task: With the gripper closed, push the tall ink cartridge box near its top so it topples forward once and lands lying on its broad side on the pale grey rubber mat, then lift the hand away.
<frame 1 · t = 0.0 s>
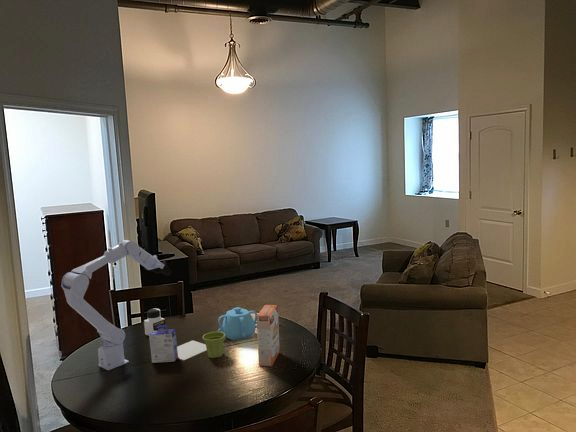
hand: (165, 273, 214), 32 cm above the table, tool tilted 50°, fingers open, 7 cm apart
light blue teapot: (239, 336, 221), on the table
ink cartridge box: (165, 360, 198), on the table, touching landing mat
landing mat: (188, 350, 207), on the table
cracker box: (270, 359, 194), on the table
medicine bottle: (155, 334, 229), on the table
plant pot: (215, 355, 200), on the table
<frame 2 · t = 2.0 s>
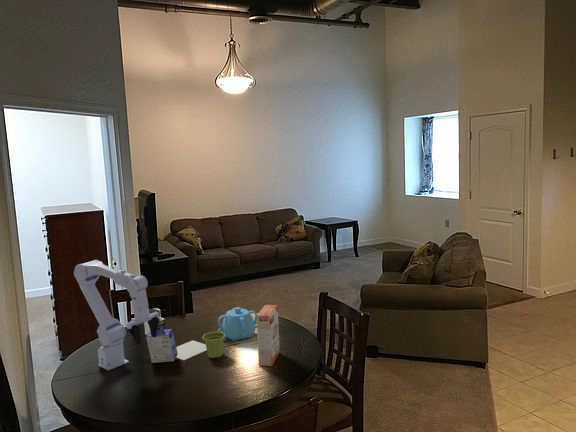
hand: (146, 340, 188), 12 cm above the table, tool pointing down, fingers open, 7 cm apart
ink cartridge box: (165, 359, 198), on the table, touching gripper
everything else where it was.
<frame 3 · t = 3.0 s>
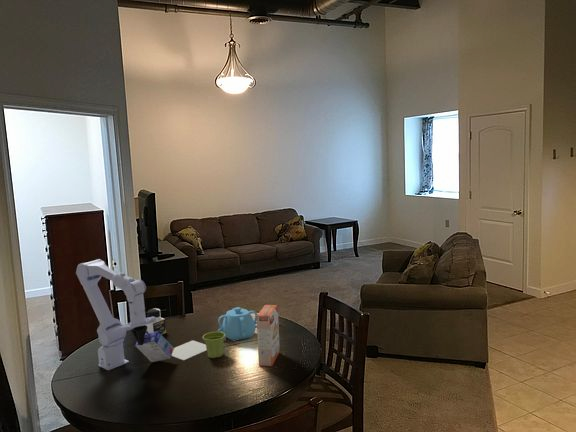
hand: (140, 344, 188), 11 cm above the table, tool pointing down, fingers closed, pressing on ink cartridge box
ink cartridge box: (163, 355, 197), point 2 cm above the table, touching gripper
everything else where it was.
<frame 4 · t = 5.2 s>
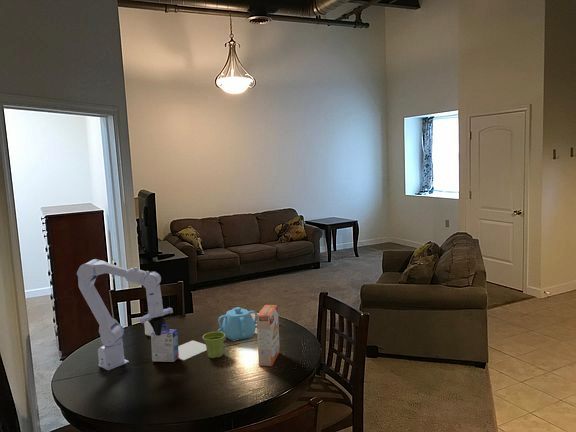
hand: (158, 334, 194), 12 cm above the table, tool pointing down, fingers closed, pressing on ink cartridge box
ink cartridge box: (166, 359, 198), on the table, touching gripper, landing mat
everything else where it was.
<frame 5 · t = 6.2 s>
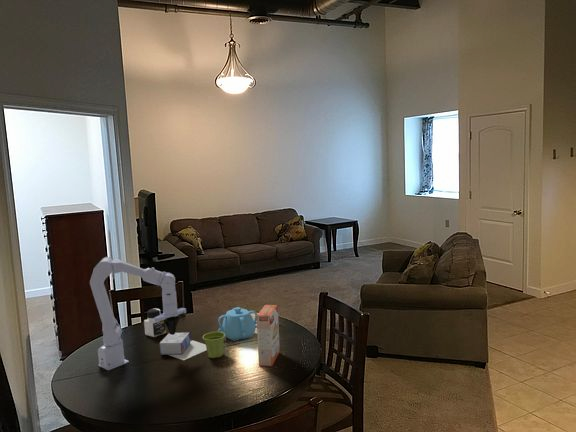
hand: (172, 333, 200), 10 cm above the table, tool pointing down, fingers closed
ink cartridge box: (170, 349, 202), point 3 cm above the table, touching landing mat
everything else where it was.
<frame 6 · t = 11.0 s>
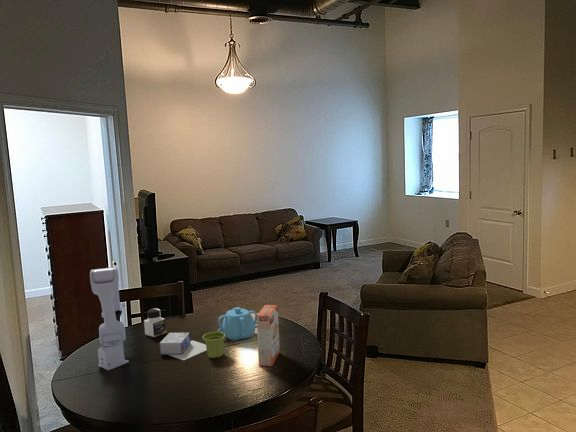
hand: (115, 327, 210), 10 cm above the table, tool pointing down, fingers closed
nothing on the table moved.
at the end: ink cartridge box tilted 88°; ink cartridge box inside the target area (2.7 cm from its centre), point 2.8 cm above the table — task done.
